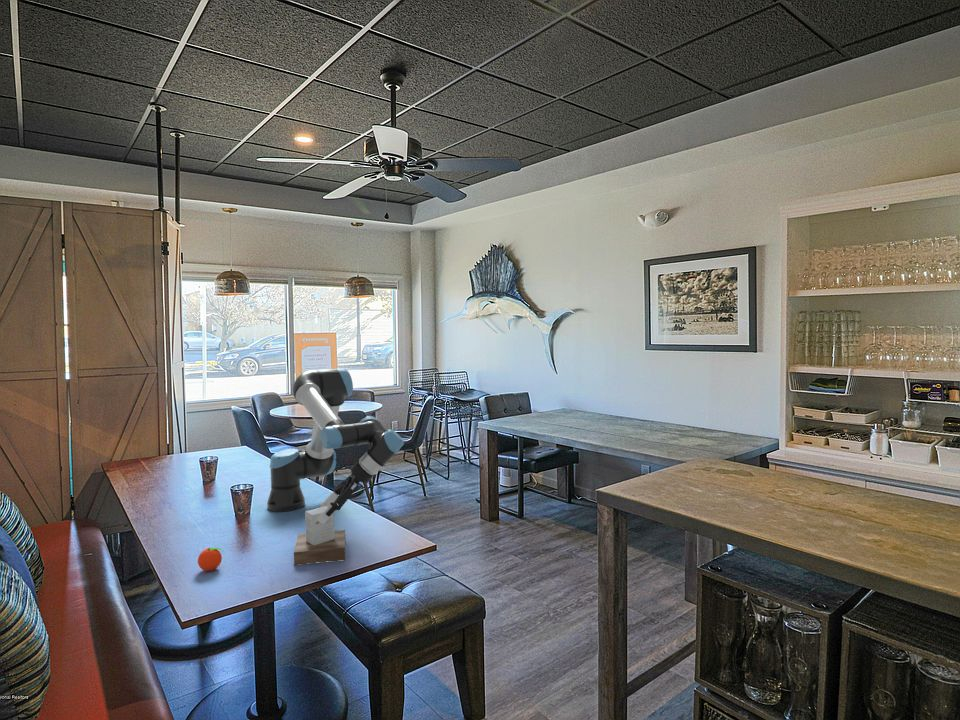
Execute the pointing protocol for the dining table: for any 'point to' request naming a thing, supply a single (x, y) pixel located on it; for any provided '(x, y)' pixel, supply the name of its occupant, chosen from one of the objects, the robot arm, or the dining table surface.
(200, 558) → the clementine
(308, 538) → the small box
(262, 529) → the dining table surface
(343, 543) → the walnut block
